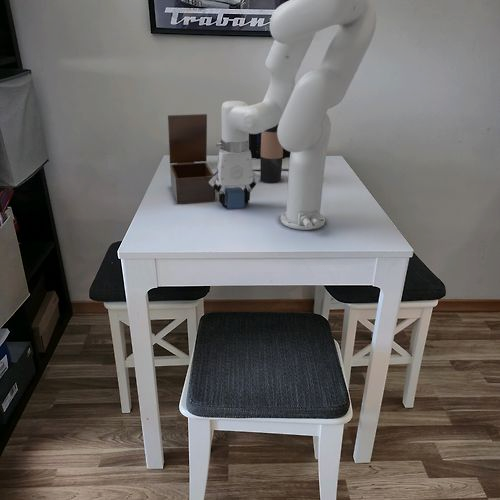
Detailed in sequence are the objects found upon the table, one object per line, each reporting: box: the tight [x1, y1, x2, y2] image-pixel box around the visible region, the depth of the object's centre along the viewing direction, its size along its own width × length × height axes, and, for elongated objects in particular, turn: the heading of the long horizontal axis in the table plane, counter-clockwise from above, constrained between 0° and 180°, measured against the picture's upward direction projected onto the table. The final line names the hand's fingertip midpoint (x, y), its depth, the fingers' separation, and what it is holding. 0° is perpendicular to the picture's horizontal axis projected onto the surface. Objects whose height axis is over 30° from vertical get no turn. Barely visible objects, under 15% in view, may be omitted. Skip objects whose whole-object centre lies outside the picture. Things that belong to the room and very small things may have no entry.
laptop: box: [248, 133, 291, 171], centre depth 179 cm, size 18×12×13 cm
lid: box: [167, 113, 208, 164], centre depth 152 cm, size 16×12×5 cm
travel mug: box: [260, 123, 283, 184], centre depth 162 cm, size 8×8×20 cm
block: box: [224, 186, 245, 210], centre depth 143 cm, size 5×5×5 cm
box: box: [169, 161, 217, 205], centre depth 151 cm, size 15×12×8 cm
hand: (234, 203), depth 144 cm, fingers open, 6 cm apart
